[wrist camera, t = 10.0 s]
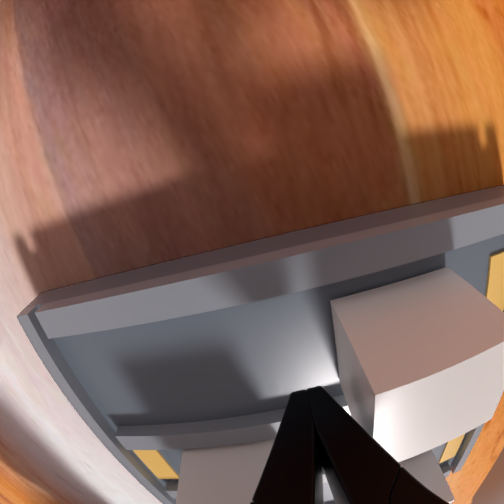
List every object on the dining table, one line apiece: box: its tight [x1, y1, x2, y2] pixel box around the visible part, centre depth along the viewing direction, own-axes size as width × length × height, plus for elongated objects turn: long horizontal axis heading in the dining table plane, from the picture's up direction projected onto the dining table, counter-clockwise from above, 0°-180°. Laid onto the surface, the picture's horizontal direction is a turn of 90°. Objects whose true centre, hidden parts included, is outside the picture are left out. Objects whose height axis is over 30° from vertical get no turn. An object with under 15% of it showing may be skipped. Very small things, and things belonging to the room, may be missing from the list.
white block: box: [398, 449, 455, 504], centre depth 11 cm, size 4×3×4 cm
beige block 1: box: [176, 439, 275, 504], centre depth 10 cm, size 4×3×4 cm
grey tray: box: [17, 185, 504, 504], centre depth 12 cm, size 18×18×2 cm
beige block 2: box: [330, 267, 504, 462], centre depth 7 cm, size 4×3×4 cm
